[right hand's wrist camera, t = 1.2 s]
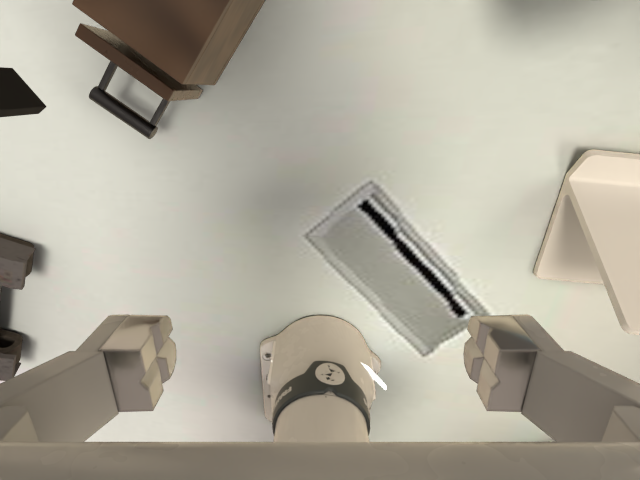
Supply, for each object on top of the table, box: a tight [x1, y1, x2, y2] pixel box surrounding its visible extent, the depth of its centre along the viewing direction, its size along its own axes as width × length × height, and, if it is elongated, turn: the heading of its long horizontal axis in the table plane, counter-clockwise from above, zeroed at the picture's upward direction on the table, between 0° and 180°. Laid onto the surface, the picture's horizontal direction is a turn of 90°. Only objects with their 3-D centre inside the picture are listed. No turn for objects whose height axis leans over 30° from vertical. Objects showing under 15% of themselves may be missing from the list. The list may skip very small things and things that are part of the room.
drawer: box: [75, 23, 203, 139], centre depth 38 cm, size 24×9×10 cm, turn 143°
